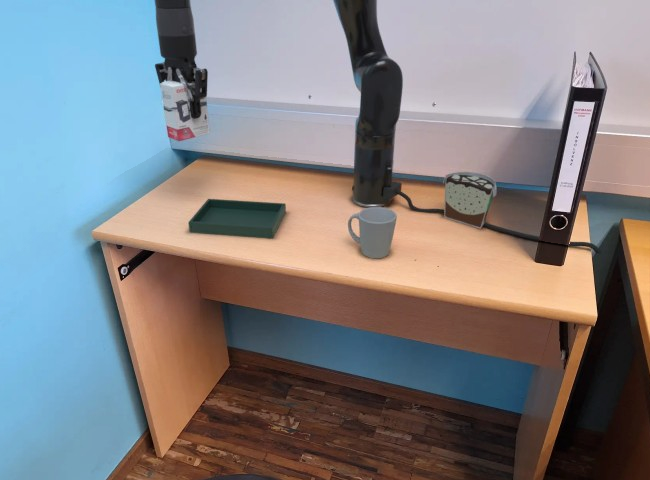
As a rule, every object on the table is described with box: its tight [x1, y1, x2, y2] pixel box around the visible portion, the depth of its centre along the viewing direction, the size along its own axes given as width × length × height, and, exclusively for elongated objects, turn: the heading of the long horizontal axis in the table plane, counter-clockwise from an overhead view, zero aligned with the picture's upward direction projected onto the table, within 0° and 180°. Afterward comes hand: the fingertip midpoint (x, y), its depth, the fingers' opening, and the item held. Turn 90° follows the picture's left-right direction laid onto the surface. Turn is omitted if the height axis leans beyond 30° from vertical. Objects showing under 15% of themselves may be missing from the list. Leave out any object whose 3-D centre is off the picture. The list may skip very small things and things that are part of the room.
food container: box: [442, 171, 498, 230], centre depth 122 cm, size 12×6×10 cm, turn 47°
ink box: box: [159, 80, 211, 142], centre depth 120 cm, size 8×5×12 cm, turn 134°
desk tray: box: [188, 198, 287, 239], centre depth 125 cm, size 19×13×2 cm
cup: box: [347, 206, 398, 259], centre depth 111 cm, size 8×10×8 cm
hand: (186, 115), depth 121 cm, fingers closed on ink box, 5 cm apart
